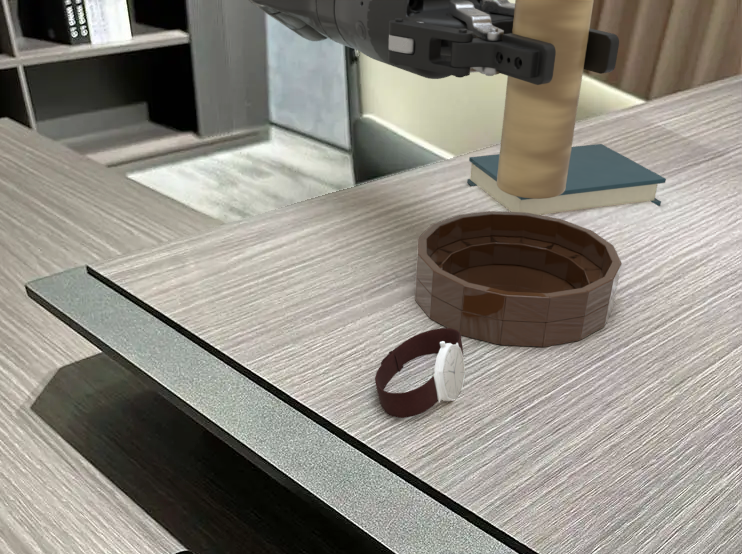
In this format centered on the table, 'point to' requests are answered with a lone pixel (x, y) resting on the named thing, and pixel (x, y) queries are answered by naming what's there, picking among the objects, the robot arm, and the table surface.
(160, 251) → the table surface
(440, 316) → the bowl
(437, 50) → the robot arm
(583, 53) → the pepper mill
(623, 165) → the book
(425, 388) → the watch
